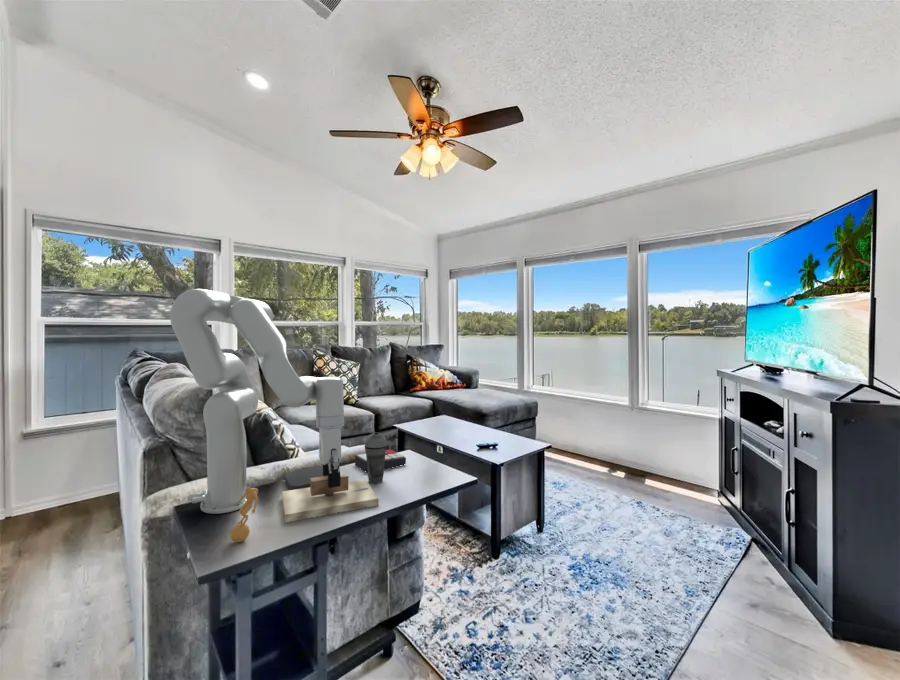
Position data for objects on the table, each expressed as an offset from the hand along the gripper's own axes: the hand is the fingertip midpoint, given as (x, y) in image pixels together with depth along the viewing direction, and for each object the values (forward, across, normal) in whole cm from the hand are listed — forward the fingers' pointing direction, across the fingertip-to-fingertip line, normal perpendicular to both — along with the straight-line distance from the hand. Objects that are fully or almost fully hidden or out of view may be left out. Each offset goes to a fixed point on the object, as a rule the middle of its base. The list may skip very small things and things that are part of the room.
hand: (331, 480), depth 113 cm
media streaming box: (+6, -18, -4) cm, 20 cm away
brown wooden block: (+4, 0, -1) cm, 4 cm away
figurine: (+6, +13, -22) cm, 26 cm away
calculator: (+7, -25, +21) cm, 34 cm away
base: (+6, 0, -1) cm, 6 cm away
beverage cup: (+6, -10, +15) cm, 20 cm away
